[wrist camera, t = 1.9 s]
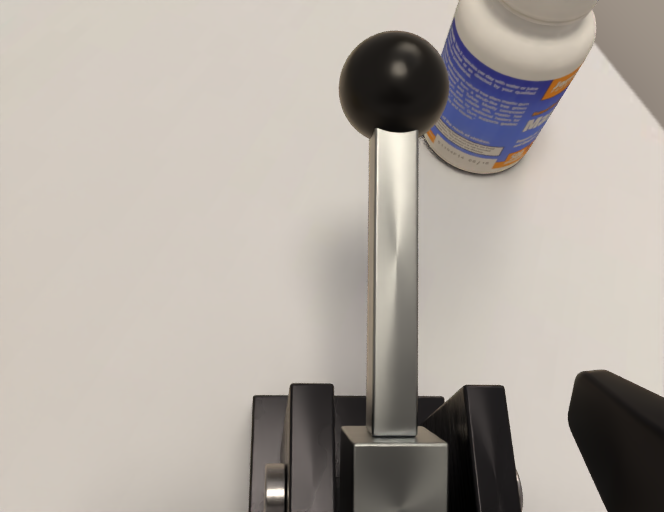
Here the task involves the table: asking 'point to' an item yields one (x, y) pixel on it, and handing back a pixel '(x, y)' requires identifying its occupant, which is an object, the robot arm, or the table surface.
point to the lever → (393, 277)
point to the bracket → (336, 411)
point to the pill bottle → (507, 76)
